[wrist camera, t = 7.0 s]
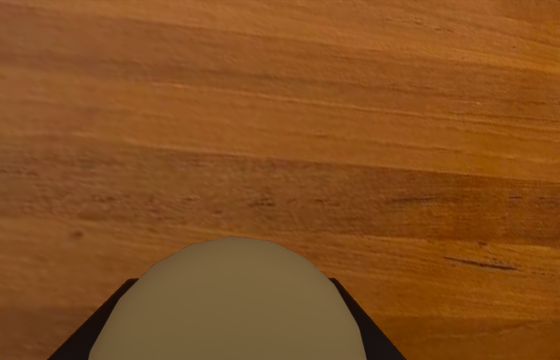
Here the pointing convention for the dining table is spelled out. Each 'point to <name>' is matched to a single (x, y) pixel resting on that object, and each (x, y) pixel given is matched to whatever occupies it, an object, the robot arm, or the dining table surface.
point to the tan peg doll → (231, 309)
